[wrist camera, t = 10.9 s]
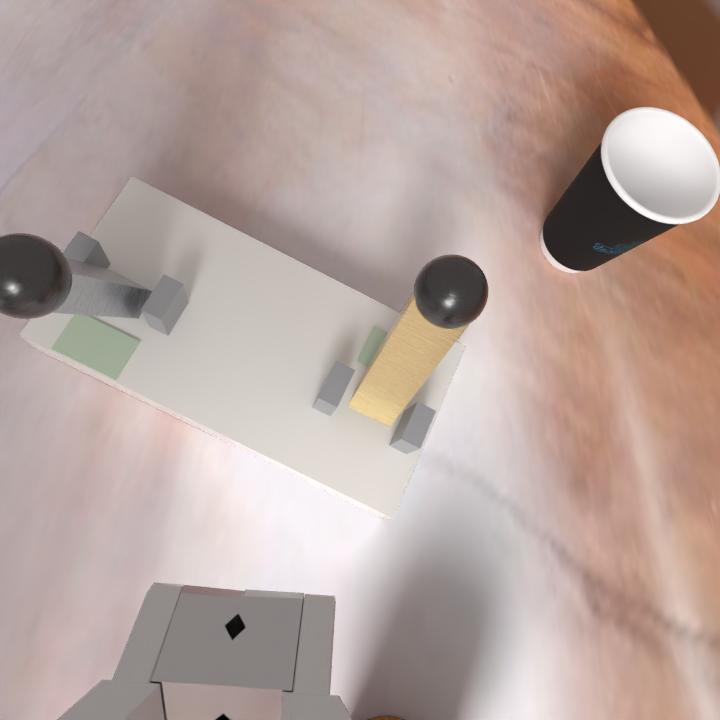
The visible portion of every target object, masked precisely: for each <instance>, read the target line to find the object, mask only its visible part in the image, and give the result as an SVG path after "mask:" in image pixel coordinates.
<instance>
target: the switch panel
mask: <svg viewBox="0 0 720 720" xmlns="http://www.w3.org/2000/svg"><path fill="white" fill-rule="evenodd" d="M63 254H64V256H65V257H66V258H69V259H73V260H77V261H80V262H84V263H88V264H91V265H95V266H99V267H102V268H106V269H109V270H111V271H113V272H115V273H117V274H119V275H121V276H123V277H125V278H127V279H129V280H131V281H133V282H135V283H137V284H139V285H141V286H143V287H145V288H147V289H149V290H151V291H152V293H151V295H150V296H149V298H148V299H147V301H146V303H145V304H144V306H143V307H142V309H141V311H142V313H141V315H140V317H139V319H137V318H122V317H107V316H93V315H78V314H63V313H53V312H52V313H50V314H48V315H46V316H43V317H39V318H33V319H30V320H29V322H28V323H27V324H26V326H25V327H24V329H23V330H22V331H21V333H20V334H19V336H21V337H22V338H23V339H24V340H26V341H27V342H28V343H29V344H31V345H32V346H33V347H34V348H36V349H37V350H39V351H41V352H43V353H45V354H47V355H49V356H51V357H53V358H55V359H57V360H59V361H61V362H63V363H65V364H67V365H70V366H72V367H74V368H76V369H78V370H80V371H82V372H84V373H86V374H88V375H90V376H92V377H94V378H96V379H98V380H100V381H102V382H104V383H106V384H108V385H110V386H112V387H114V388H116V389H119V390H121V391H123V392H125V393H127V394H129V395H131V396H133V397H135V398H137V399H139V400H141V401H143V402H145V403H147V404H149V405H151V406H153V407H155V408H157V409H159V410H161V411H163V412H166V413H168V414H170V415H172V416H174V417H176V418H178V419H180V420H182V421H184V422H186V423H188V424H190V425H192V426H194V427H196V428H198V429H200V430H202V431H204V432H206V433H208V434H210V435H212V436H215V437H217V438H219V439H221V440H223V441H225V442H227V443H229V444H231V445H233V446H235V447H237V448H239V449H241V450H243V451H245V452H247V453H249V454H251V455H253V456H255V457H257V458H259V459H262V460H264V461H266V462H268V463H270V464H272V465H274V466H276V467H278V468H280V469H282V470H284V471H286V472H288V473H290V474H292V475H294V476H296V477H298V478H300V479H302V480H304V481H306V482H309V483H311V484H313V485H315V486H317V487H319V488H321V489H323V490H325V491H327V492H329V493H331V494H333V495H335V496H337V497H339V498H341V499H343V500H345V501H347V502H349V503H351V504H353V505H355V506H358V507H360V508H362V509H364V510H366V511H368V512H370V513H372V514H374V515H376V516H378V517H380V518H382V519H394V516H395V514H396V511H397V509H398V507H399V504H400V502H401V500H402V497H403V495H404V492H405V490H406V488H407V485H408V483H409V481H410V478H411V476H412V473H413V471H414V469H415V466H416V464H417V461H418V459H419V457H420V454H421V452H422V450H423V447H424V445H425V442H426V440H427V438H428V435H429V433H430V430H431V428H432V426H433V423H434V421H435V419H436V416H437V414H438V411H439V409H440V407H441V404H442V402H443V400H444V397H445V395H446V392H447V390H448V388H449V385H450V383H451V380H452V378H453V376H454V373H455V371H456V369H457V366H458V364H459V361H460V359H461V357H462V354H463V352H464V350H465V347H466V346H464V345H462V344H460V343H458V342H455V343H454V345H453V346H452V347H451V348H450V350H449V351H448V352H447V354H446V355H445V356H444V358H443V359H442V360H441V361H440V363H439V364H438V365H437V367H436V368H435V369H434V371H433V372H432V373H431V374H430V376H429V377H428V378H427V380H426V381H425V382H424V384H423V385H422V386H421V387H420V389H419V390H418V391H417V393H416V394H415V395H414V397H413V398H412V399H411V400H410V402H409V403H408V404H407V406H406V407H405V408H404V410H403V411H402V412H401V413H400V415H399V416H398V417H397V419H396V420H395V421H394V422H393V424H392V425H391V426H390V427H388V426H386V425H384V424H382V423H380V422H378V421H376V420H374V419H372V418H370V417H368V416H366V415H364V414H362V413H360V412H358V411H356V410H354V409H352V408H350V407H348V404H349V402H350V399H351V397H352V395H353V393H354V390H355V388H356V386H357V384H358V382H359V380H360V379H361V377H362V375H363V374H364V372H365V371H366V369H367V367H368V366H369V364H370V362H371V361H372V359H373V357H374V356H375V354H376V352H377V351H378V349H379V347H380V346H381V344H382V342H383V341H384V339H385V337H386V336H387V334H388V332H389V331H390V329H391V328H392V326H393V324H394V323H395V321H396V319H397V318H398V316H399V314H400V312H398V311H396V310H394V309H392V308H390V307H388V306H386V305H384V304H382V303H380V302H378V301H376V300H374V299H372V298H370V297H368V296H366V295H364V294H362V293H360V292H358V291H356V290H354V289H352V288H351V287H349V286H347V285H345V284H343V283H341V282H339V281H337V280H335V279H333V278H331V277H329V276H327V275H325V274H323V273H321V272H319V271H317V270H315V269H313V268H311V267H309V266H307V265H305V264H303V263H301V262H299V261H298V260H296V259H294V258H292V257H290V256H288V255H286V254H284V253H282V252H280V251H278V250H276V249H274V248H272V247H270V246H268V245H266V244H264V243H262V242H260V241H258V240H256V239H254V238H252V237H250V236H248V235H247V234H245V233H243V232H241V231H239V230H237V229H235V228H233V227H231V226H229V225H227V224H225V223H223V222H221V221H219V220H217V219H215V218H213V217H211V216H209V215H207V214H205V213H203V212H201V211H199V210H197V209H196V208H194V207H192V206H190V205H188V204H186V203H184V202H182V201H180V200H178V199H176V198H174V197H172V196H170V195H168V194H166V193H164V192H162V191H160V190H158V189H156V188H154V187H152V186H150V185H148V184H146V183H144V182H143V181H141V180H139V179H137V178H135V177H133V176H132V177H131V178H130V180H129V181H128V183H127V184H126V185H125V187H124V188H123V190H122V191H121V192H120V194H119V195H118V197H117V198H116V199H115V201H114V202H113V204H112V205H111V206H110V208H109V209H108V211H107V212H106V213H105V215H104V216H103V218H102V219H101V220H100V222H99V223H98V225H97V226H96V227H95V229H94V230H93V232H92V233H91V235H90V236H87V235H85V234H83V233H81V232H78V233H77V234H76V236H75V237H74V239H73V240H72V241H71V243H70V244H69V245H68V247H67V248H66V250H65V251H64V252H63Z"/></svg>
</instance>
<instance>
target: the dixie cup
mask: <svg viewBox="0 0 720 720" xmlns="http://www.w3.org/2000/svg"><path fill="white" fill-rule="evenodd" d="M719 194H720V166H719V163H718V159H717V157H716V154H715V152H714V150H713V148H712V147H711V145H710V144H709V142H708V141H707V139H706V138H705V137H704V136H703V134H702V133H701V132H700V131H699V130H698V129H697V128H696V127H694V126H693V125H692V124H691V123H690V122H688V121H687V120H685V119H684V118H682V117H680V116H679V115H677V114H674V113H672V112H670V111H667V110H663V109H659V108H654V107H638V108H633V109H630V110H627V111H625V112H623V113H622V114H620V115H618V116H617V117H616V118H615V119H614V120H613V121H612V122H611V123H610V124H609V126H608V127H607V129H606V131H605V133H604V136H603V139H602V142H601V144H600V145H599V146H598V148H597V149H596V150H595V152H594V153H593V155H592V156H591V157H590V159H589V160H588V161H587V163H586V164H585V166H584V167H583V168H582V170H581V171H580V172H579V174H578V175H577V177H576V178H575V179H574V181H573V182H572V184H571V185H570V186H569V188H568V189H567V190H566V192H565V193H564V195H563V196H562V197H561V199H560V200H559V201H558V203H557V204H556V206H555V207H554V208H553V210H552V211H551V212H550V214H549V215H548V217H547V218H546V220H545V222H544V225H543V229H542V231H541V234H540V246H541V250H542V252H543V254H544V256H545V257H546V259H547V260H548V261H549V262H550V263H551V264H552V265H553V266H554V267H556V268H557V269H559V270H562V271H564V272H568V273H578V272H582V271H588V270H591V269H594V268H596V267H598V266H600V265H602V264H604V263H606V262H608V261H609V260H611V259H613V258H615V257H617V256H619V255H621V254H623V253H625V252H627V251H629V250H631V249H633V248H635V247H637V246H638V245H640V244H642V243H644V242H646V241H648V240H650V239H652V238H654V237H656V236H658V235H660V234H662V233H664V232H665V231H667V230H669V229H671V228H673V227H675V226H677V225H679V224H684V223H689V222H692V221H695V220H698V219H699V218H701V217H703V216H704V215H706V214H707V213H708V212H709V211H710V210H711V209H712V207H713V206H714V205H715V203H716V201H717V199H718V197H719Z"/></svg>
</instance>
